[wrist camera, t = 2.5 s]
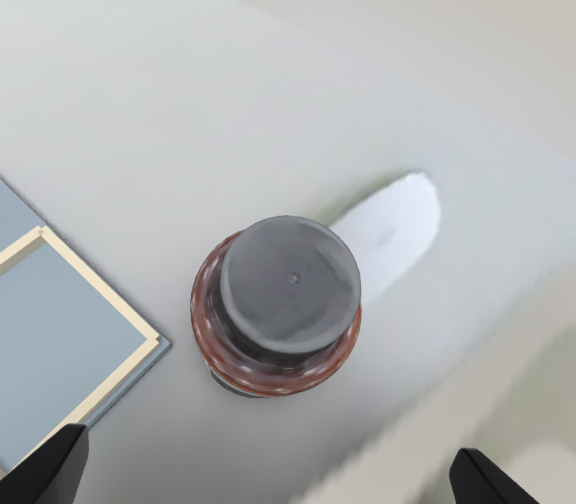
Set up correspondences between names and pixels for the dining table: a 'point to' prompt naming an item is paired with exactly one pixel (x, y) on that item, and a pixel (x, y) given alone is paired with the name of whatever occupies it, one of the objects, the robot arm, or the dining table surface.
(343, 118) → the dining table surface
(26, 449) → the board
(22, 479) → the robot arm
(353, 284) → the supplement bottle
